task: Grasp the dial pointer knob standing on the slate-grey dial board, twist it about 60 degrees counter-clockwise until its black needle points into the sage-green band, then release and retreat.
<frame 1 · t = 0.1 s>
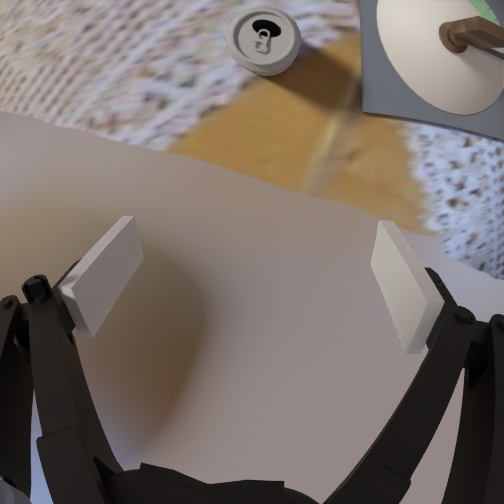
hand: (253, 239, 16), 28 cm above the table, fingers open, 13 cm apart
dial board: (447, 38, 28), on the table
dial pointer knob: (499, 46, 21), point 7 cm above the table, hinge at 0.0°
can: (266, 50, 33), on the table
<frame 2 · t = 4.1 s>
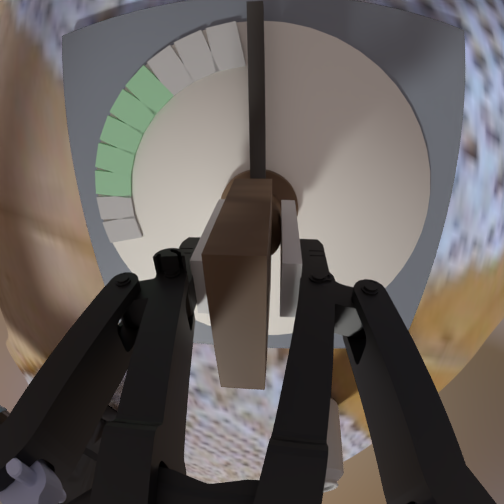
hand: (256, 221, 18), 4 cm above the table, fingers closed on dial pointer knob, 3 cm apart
dial board: (260, 197, 21), on the table
dial pointer knob: (250, 149, 12), point 7 cm above the table, hinge at 0.0°, touching gripper
can: (308, 403, 34), on the table
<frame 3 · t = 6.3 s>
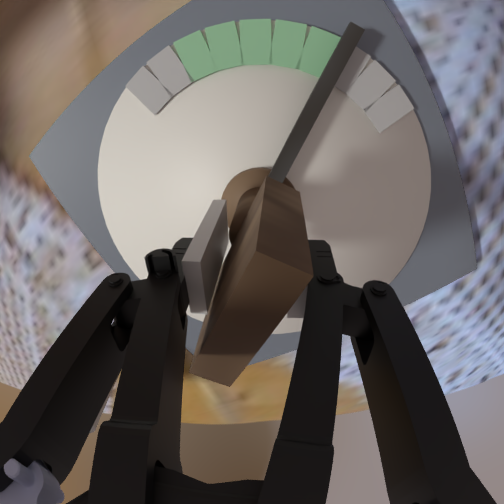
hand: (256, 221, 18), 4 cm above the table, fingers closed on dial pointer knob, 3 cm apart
dial board: (261, 195, 21), on the table
dial pointer knob: (301, 159, 12), point 7 cm above the table, hinge at 33.8°, touching gripper
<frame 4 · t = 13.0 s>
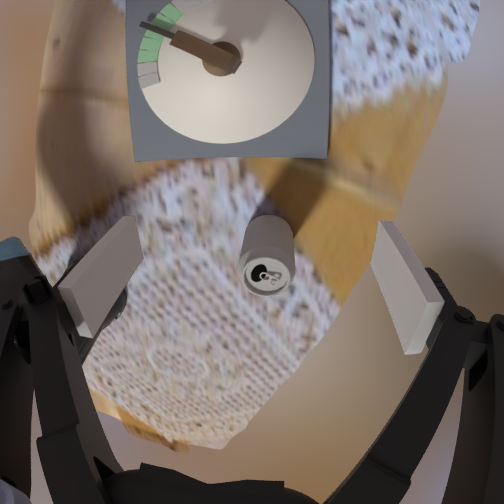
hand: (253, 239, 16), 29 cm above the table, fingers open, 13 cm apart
dial board: (223, 60, 35), on the table
dial pointer knob: (177, 38, 27), point 7 cm above the table, hinge at 57.3°
can: (269, 233, 48), on the table
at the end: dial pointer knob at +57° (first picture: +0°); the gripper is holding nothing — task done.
